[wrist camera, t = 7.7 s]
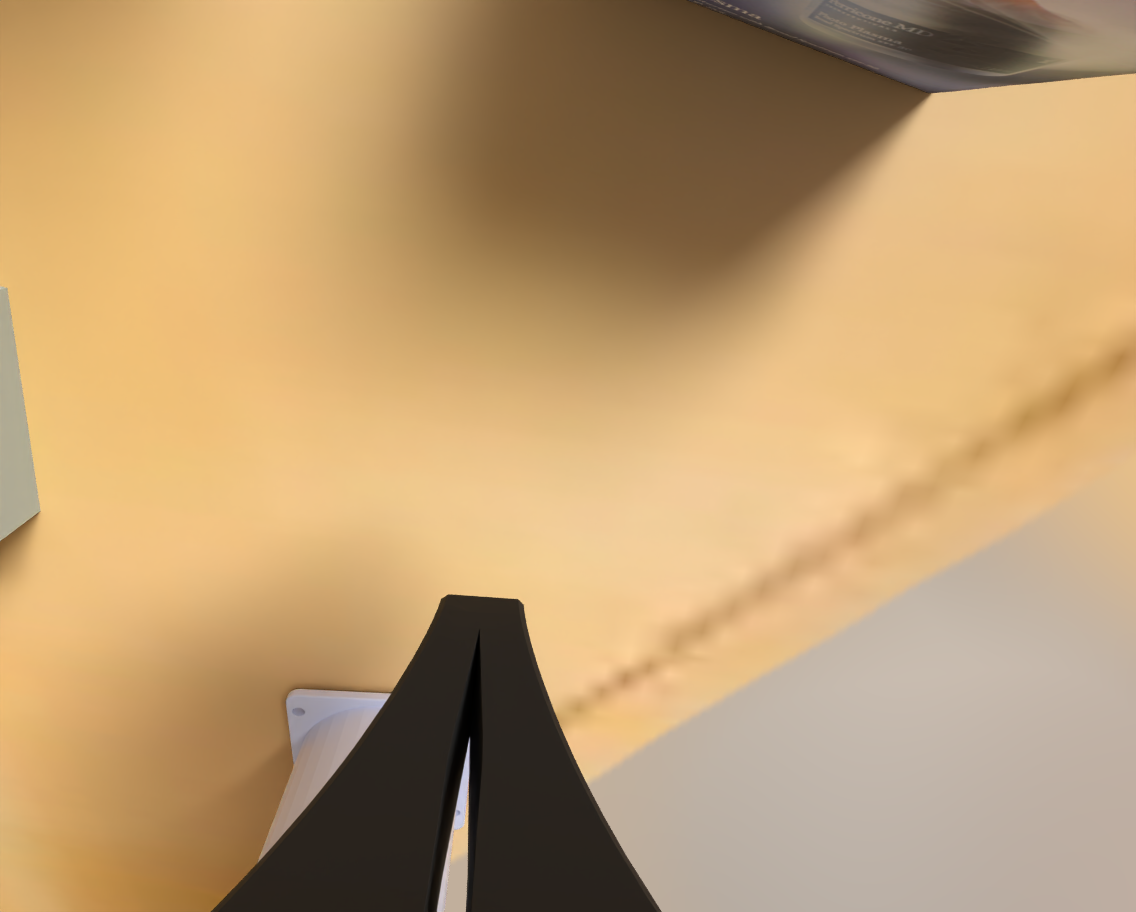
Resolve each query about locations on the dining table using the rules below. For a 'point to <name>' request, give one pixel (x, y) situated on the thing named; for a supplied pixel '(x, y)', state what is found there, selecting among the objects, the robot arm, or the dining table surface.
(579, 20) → the dining table surface
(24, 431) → the block
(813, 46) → the small box
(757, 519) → the dining table surface
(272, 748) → the dining table surface
